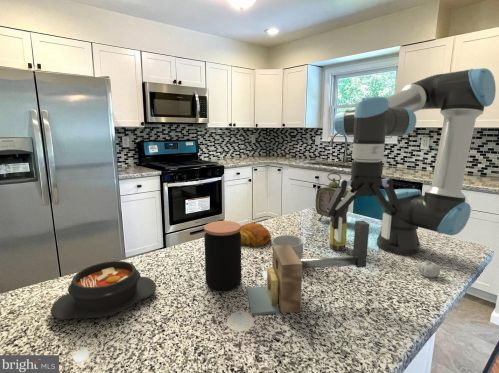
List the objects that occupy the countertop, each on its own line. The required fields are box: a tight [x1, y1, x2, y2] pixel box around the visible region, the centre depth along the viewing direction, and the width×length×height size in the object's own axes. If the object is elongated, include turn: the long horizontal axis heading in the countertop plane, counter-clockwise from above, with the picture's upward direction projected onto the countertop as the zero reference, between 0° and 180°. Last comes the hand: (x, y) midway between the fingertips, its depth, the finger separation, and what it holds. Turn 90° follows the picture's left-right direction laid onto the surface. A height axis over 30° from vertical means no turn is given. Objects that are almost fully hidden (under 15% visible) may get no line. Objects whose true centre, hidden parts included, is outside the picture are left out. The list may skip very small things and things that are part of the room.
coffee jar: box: [203, 220, 242, 293], centre depth 85 cm, size 11×11×18 cm
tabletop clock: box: [315, 172, 350, 221], centre depth 143 cm, size 14×9×25 cm, turn 50°
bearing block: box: [271, 245, 303, 314], centre depth 78 cm, size 5×12×13 cm, turn 7°
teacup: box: [271, 233, 304, 259], centre depth 102 cm, size 14×11×8 cm
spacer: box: [266, 267, 278, 306], centre depth 78 cm, size 2×7×7 cm, turn 7°
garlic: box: [417, 260, 441, 278], centre depth 91 cm, size 6×5×5 cm
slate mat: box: [246, 285, 280, 316], centre depth 78 cm, size 7×12×1 cm, turn 7°
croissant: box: [240, 222, 272, 247], centre depth 120 cm, size 14×16×8 cm
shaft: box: [300, 220, 370, 270], centre depth 77 cm, size 20×3×12 cm, turn 97°
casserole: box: [50, 260, 157, 321], centre depth 77 cm, size 25×19×8 cm
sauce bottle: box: [329, 198, 348, 251], centre depth 111 cm, size 6×6×20 cm
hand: (361, 238), depth 78 cm, fingers open, 13 cm apart
